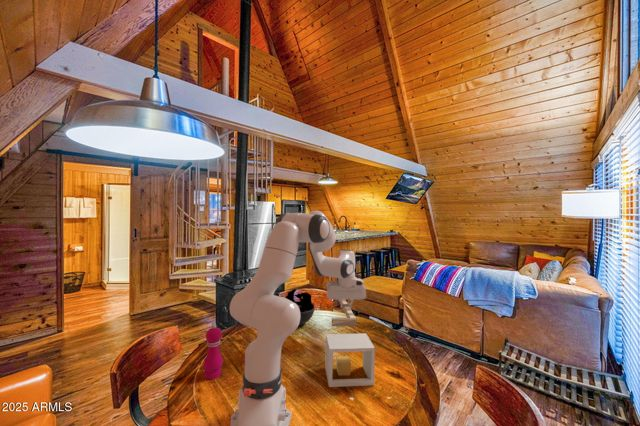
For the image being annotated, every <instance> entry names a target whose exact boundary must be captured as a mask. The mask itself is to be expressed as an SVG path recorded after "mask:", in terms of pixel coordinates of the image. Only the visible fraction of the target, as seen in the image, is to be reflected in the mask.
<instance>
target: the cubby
mask: <svg viewBox="0 0 640 426" xmlns="http://www.w3.org/2000/svg"><path fill="white" fill-rule="evenodd" d="M353 352H355V353H356V352H357V353H359V352H362V368H363V370H364V373H365V375H366V378H344V379H343V378H341V379H340V378H339V379H333V371H334V368H333V367H334V366H333V364H334V361H333V360H334V355H333V354H334V353H353ZM324 353H325V354H324V355H325V356H324V357H325V360H324V361H325V362H324V366H325V367H324V368H325V376H326V379H327V383H328V387H329V388H340V387H360V386H361V387H362V386H363V387H364V386H366V387H367V386H375V362H376V361H375V360H376V359H375V358H376V357H375V356H376V349H375V346H374V344H373V342H372V341H371V338H370V337H369V336H368V334H367V333H326V334H325V352H324Z"/></svg>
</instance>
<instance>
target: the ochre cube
mask: <svg viewBox="0 0 640 426" xmlns="http://www.w3.org/2000/svg"><path fill="white" fill-rule="evenodd" d="M349 357H350V356H345V355H343V356H336V363H335V364H336V365H335V367H336V372H337V375H338V377H339V376H351V374H352V373H351V368H352V367H351V365H352V362H351V360H350V358H349Z"/></svg>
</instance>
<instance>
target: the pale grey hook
mask: <svg viewBox="0 0 640 426" xmlns="http://www.w3.org/2000/svg"><path fill="white" fill-rule="evenodd" d="M336 302H337V304H340V302H339V299H337V300H336ZM341 303H342V304H344V308H342V310H343V312H344V314H345V316H346V317H334V318H333V317H331V326H332V327H357V323H358V321H357V319H358V318H357V317H356V316H355V313H353V311H352V309H351V308H350V307H349V305H348V303H349V302H347V299H342V301H341Z"/></svg>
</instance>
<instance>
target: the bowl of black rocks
mask: <svg viewBox="0 0 640 426" xmlns="http://www.w3.org/2000/svg"><path fill="white" fill-rule="evenodd" d="M295 292H297V289H296V288H293V289H292V290H289V291H288V292H287V295H286V296H284V298H286V299H288V300H290V301H292V302H294V303H296V304H297V305H298V307H299V309H300V323H299V325H298V326H301V325H304V324H306V323H307V322H309V321H310V320H311V318H312V317H313V316H314V312H315V305H314V304H313V302H312V294H310V293H308V292H301V293H299V292H298V293H297V294H295ZM295 297H296V298H297V299H299V301H296V300H295Z"/></svg>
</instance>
